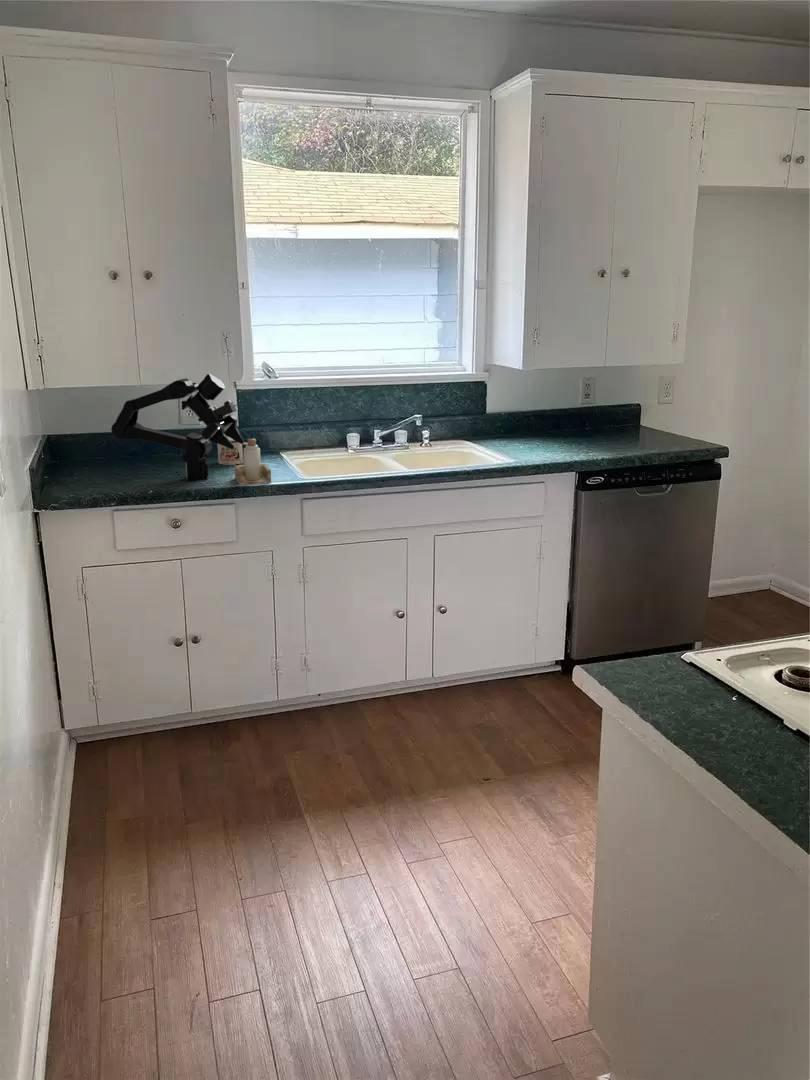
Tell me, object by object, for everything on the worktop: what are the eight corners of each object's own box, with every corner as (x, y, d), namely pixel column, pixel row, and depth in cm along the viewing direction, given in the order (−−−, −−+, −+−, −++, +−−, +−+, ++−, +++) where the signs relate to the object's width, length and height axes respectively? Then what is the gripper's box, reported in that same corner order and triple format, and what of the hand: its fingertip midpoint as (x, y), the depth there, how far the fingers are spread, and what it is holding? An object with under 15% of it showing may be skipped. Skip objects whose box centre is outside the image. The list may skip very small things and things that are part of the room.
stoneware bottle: (242, 479, 271) (241, 440, 267) (247, 476, 276) (246, 437, 272) (258, 480, 270) (257, 441, 266) (262, 477, 275) (261, 438, 271)
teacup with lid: (217, 466, 294) (215, 433, 290) (218, 460, 303) (216, 428, 299) (251, 465, 296) (250, 432, 293) (251, 459, 305) (250, 428, 301)
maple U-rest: (240, 485, 267) (239, 472, 266) (235, 478, 276) (234, 465, 275) (271, 482, 271) (270, 470, 270) (265, 476, 280) (264, 463, 278)
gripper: (209, 396, 257) (244, 433, 259) (230, 389, 275) (263, 424, 277) (186, 421, 261) (221, 457, 263) (208, 412, 278) (241, 446, 280)
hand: (238, 445), depth 270 cm, fingers open, 9 cm apart
